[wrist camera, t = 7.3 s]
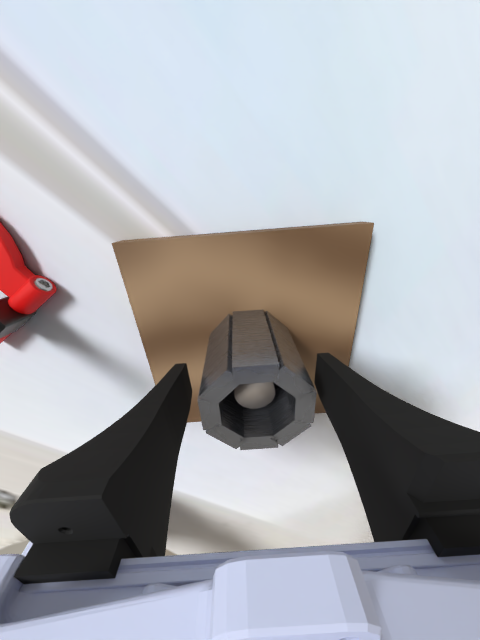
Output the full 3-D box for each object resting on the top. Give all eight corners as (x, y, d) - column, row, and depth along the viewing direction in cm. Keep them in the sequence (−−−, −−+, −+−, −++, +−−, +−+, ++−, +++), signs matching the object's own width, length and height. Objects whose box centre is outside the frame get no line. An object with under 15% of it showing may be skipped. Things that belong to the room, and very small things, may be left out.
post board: (334, 400, 19) (370, 469, 14) (171, 411, 19) (148, 484, 14) (362, 221, 13) (445, 230, 8) (121, 240, 13) (50, 260, 8)
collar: (287, 373, 16) (310, 445, 11) (215, 378, 16) (207, 452, 11) (289, 307, 14) (320, 361, 9) (206, 313, 14) (191, 370, 9)
